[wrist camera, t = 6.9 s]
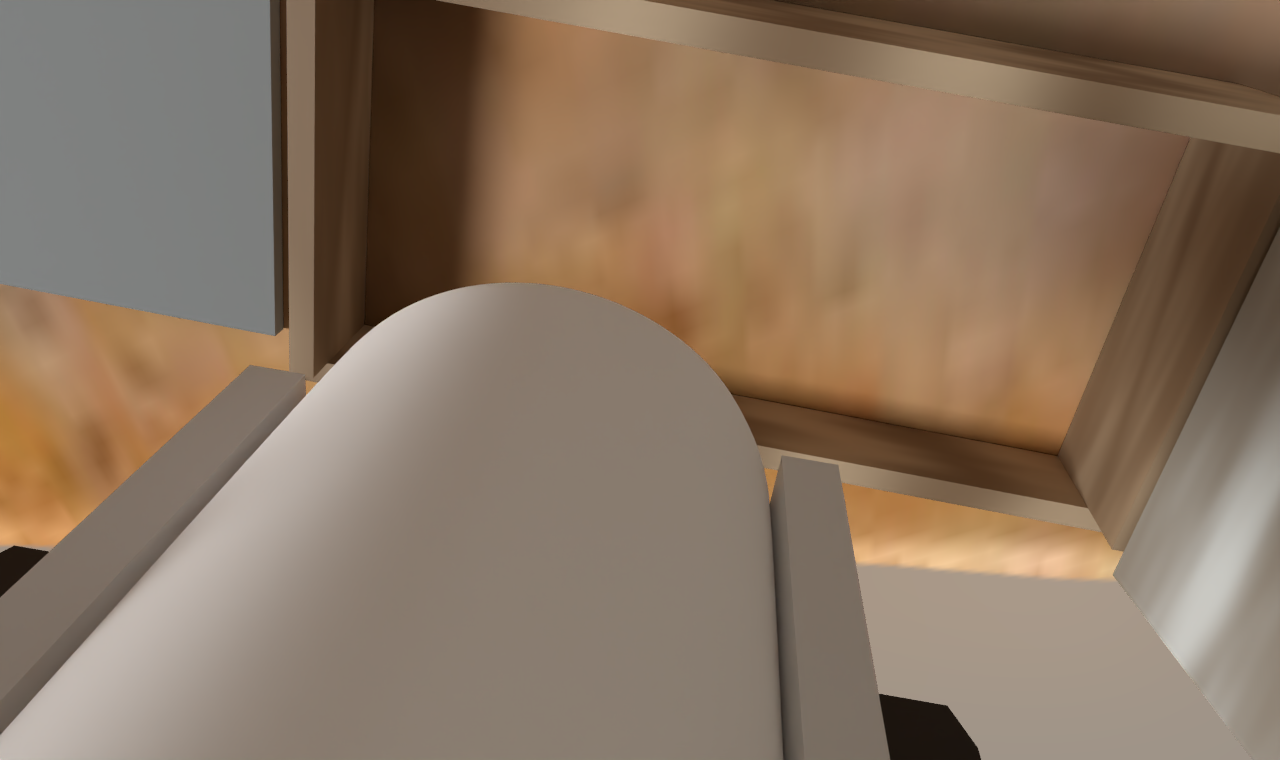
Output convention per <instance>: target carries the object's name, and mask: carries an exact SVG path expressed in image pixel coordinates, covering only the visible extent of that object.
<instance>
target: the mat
mask: <svg viewBox="0 0 1280 760" xmlns="http://www.w3.org/2000/svg"><path fill="white" fill-rule="evenodd" d="M0 284H4V285H10V286H15V287H20V288H25V289H31V290H36V291H41V292H46V293H52V294H57V295H62V296H67V297H73V298H78V299H83V300H89V301H94V302H99V303H104V304H110V305H115V306H120V307H125V308H131V309H136V310H141V311H146V312H152V313H157V314H162V315H167V316H173V317H178V318H183V319H188V320H194V321H199V322H204V323H209V324H215V325H220V326H225V327H230V328H236V329H241V330H246V331H251V332H257V333H262V334H267V335H273V336H276V335H277V334H278V333H279V332H280V331H281V330H283V257H282V170H281V83H280V0H0Z"/></svg>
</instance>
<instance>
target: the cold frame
mask: <svg viewBox="0 0 1280 760" xmlns="http://www.w3.org/2000/svg"><path fill="white" fill-rule="evenodd" d="M438 1H443V2H449V3H454V4H460V5H465V6H471V7H476V8H482V9H487V10H493V11H498V12H504V13H509V14H515V15H520V16H526V17H531V18H537V19H542V20H548V21H553V22H559V23H564V24H570V25H575V26H581V27H586V28H592V29H597V30H603V31H609V32H614V33H620V34H625V35H631V36H636V37H642V38H647V39H653V40H658V41H664V42H669V43H675V44H680V45H686V46H691V47H697V48H702V49H708V50H713V51H719V52H724V53H730V54H735V55H741V56H746V57H752V58H757V59H763V60H768V61H774V62H779V63H785V64H790V65H796V66H801V67H807V68H812V69H818V70H823V71H829V72H834V73H840V74H845V75H851V76H856V77H862V78H867V79H873V80H878V81H884V82H889V83H895V84H900V85H906V86H912V87H917V88H923V89H928V90H934V91H939V92H945V93H950V94H956V95H961V96H967V97H972V98H978V99H983V100H989V101H994V102H1000V103H1005V104H1011V105H1016V106H1022V107H1027V108H1033V109H1038V110H1044V111H1049V112H1055V113H1060V114H1066V115H1071V116H1077V117H1082V118H1088V119H1093V120H1099V121H1104V122H1110V123H1115V124H1121V125H1126V126H1132V127H1137V128H1143V129H1148V130H1154V131H1159V132H1165V133H1170V134H1176V135H1181V136H1187V137H1191V138H1190V140H1189V143H1188V145H1187V147H1186V150H1185V152H1184V154H1183V157H1182V159H1181V162H1180V164H1179V166H1178V169H1177V171H1176V174H1175V176H1174V178H1173V181H1172V183H1171V186H1170V188H1169V190H1168V193H1167V195H1166V198H1165V200H1164V202H1163V205H1162V207H1161V210H1160V212H1159V214H1158V217H1157V219H1156V221H1155V224H1154V226H1153V229H1152V231H1151V233H1150V236H1149V238H1148V241H1147V243H1146V245H1145V248H1144V250H1143V253H1142V255H1141V257H1140V260H1139V262H1138V265H1137V267H1136V269H1135V272H1134V274H1133V277H1132V279H1131V281H1130V284H1129V286H1128V288H1127V291H1126V293H1125V296H1124V298H1123V300H1122V303H1121V305H1120V308H1119V310H1118V312H1117V315H1116V317H1115V320H1114V322H1113V324H1112V327H1111V329H1110V332H1109V334H1108V336H1107V339H1106V341H1105V344H1104V346H1103V348H1102V351H1101V353H1100V355H1099V358H1098V360H1097V363H1096V365H1095V367H1094V370H1093V372H1092V375H1091V377H1090V379H1089V382H1088V384H1087V387H1086V389H1085V391H1084V394H1083V396H1082V399H1081V401H1080V403H1079V406H1078V408H1077V410H1076V413H1075V415H1074V418H1073V420H1072V422H1071V425H1070V427H1069V430H1068V432H1067V434H1066V437H1065V439H1064V442H1063V444H1062V446H1061V449H1060V451H1059V454H1058V456H1055V455H1049V454H1044V453H1039V452H1034V451H1028V450H1023V449H1018V448H1012V447H1007V446H1002V445H997V444H991V443H986V442H981V441H976V440H970V439H965V438H960V437H954V436H949V435H944V434H939V433H933V432H928V431H923V430H917V429H912V428H907V427H902V426H896V425H891V424H886V423H881V422H875V421H870V420H865V419H859V418H854V417H849V416H844V415H838V414H833V413H828V412H823V411H817V410H812V409H807V408H801V407H796V406H791V405H786V404H780V403H775V402H770V401H764V400H759V399H754V398H749V397H743V396H738V395H733V394H731V395H732V396H733V398H734V400H735V401H736V403H737V405H738V406H739V408H740V410H741V412H742V414H743V416H744V418H745V420H746V422H747V424H748V426H749V428H750V430H751V432H752V435H753V437H754V439H755V442H756V444H757V447H758V450H759V453H760V456H761V459H762V463H763V467H764V468H768V469H774V470H778V469H779V464H780V460H781V456H782V455H783V456H789V457H795V458H801V459H807V460H813V461H818V462H824V463H830V464H836V465H838V466H839V472H840V477H841V482H842V483H847V484H852V485H857V486H862V487H868V488H873V489H878V490H883V491H889V492H894V493H899V494H904V495H910V496H915V497H920V498H925V499H930V500H936V501H941V502H946V503H951V504H957V505H962V506H967V507H972V508H978V509H983V510H988V511H993V512H999V513H1004V514H1009V515H1014V516H1019V517H1025V518H1030V519H1035V520H1040V521H1046V522H1051V523H1056V524H1061V525H1067V526H1072V527H1077V528H1082V529H1087V530H1093V531H1098V532H1102V533H1103V535H1104V537H1105V538H1106V540H1107V542H1108V543H1109V545H1110V547H1111V549H1113V550H1119V551H1124V552H1123V554H1122V556H1121V559H1120V561H1119V563H1118V565H1117V567H1116V569H1115V571H1114V573H1113V576H1114V577H1115V579H1116V580H1117V581H1118V583H1119V584H1120V585H1121V587H1122V588H1123V589H1124V591H1125V592H1126V593H1127V595H1128V596H1129V597H1130V599H1131V600H1132V601H1133V603H1134V604H1135V605H1136V607H1137V608H1138V609H1139V610H1140V612H1141V613H1142V614H1143V616H1144V617H1145V618H1146V620H1147V621H1148V622H1149V624H1150V625H1151V626H1152V628H1153V629H1154V630H1155V632H1156V633H1157V634H1158V636H1159V637H1160V638H1161V640H1162V641H1163V642H1164V644H1165V645H1166V646H1167V648H1168V649H1169V650H1170V652H1171V653H1172V654H1173V655H1174V657H1175V658H1176V659H1177V661H1178V662H1179V663H1180V665H1181V666H1182V667H1183V669H1184V670H1185V671H1186V673H1187V674H1188V675H1189V677H1190V678H1191V679H1192V681H1193V682H1194V683H1195V685H1196V686H1197V687H1198V689H1199V690H1200V691H1201V693H1202V694H1203V695H1204V697H1205V698H1206V699H1207V700H1208V702H1209V703H1210V704H1211V706H1212V707H1213V708H1214V710H1215V711H1216V712H1217V714H1218V715H1219V716H1220V717H1221V719H1222V720H1223V722H1224V723H1225V724H1226V726H1227V727H1228V728H1229V730H1230V731H1231V732H1232V733H1233V735H1234V736H1235V737H1236V739H1237V740H1238V741H1239V743H1240V744H1241V746H1242V747H1243V748H1244V750H1245V751H1246V752H1247V753H1248V755H1249V756H1250V757H1251V759H1252V760H1280V97H1278V96H1275V95H1272V94H1269V93H1266V92H1263V91H1260V90H1257V89H1254V88H1251V87H1248V86H1244V85H1241V84H1236V83H1230V82H1225V81H1219V80H1214V79H1208V78H1203V77H1197V76H1191V75H1186V74H1180V73H1175V72H1169V71H1164V70H1158V69H1153V68H1147V67H1141V66H1136V65H1130V64H1125V63H1119V62H1114V61H1108V60H1103V59H1097V58H1091V57H1086V56H1080V55H1075V54H1069V53H1064V52H1058V51H1053V50H1047V49H1041V48H1036V47H1030V46H1025V45H1019V44H1014V43H1008V42H1003V41H997V40H991V39H986V38H980V37H975V36H969V35H964V34H958V33H953V32H947V31H941V30H936V29H930V28H925V27H919V26H914V25H908V24H903V23H897V22H892V21H886V20H880V19H875V18H869V17H864V16H858V15H853V14H847V13H842V12H836V11H830V10H825V9H819V8H814V7H808V6H803V5H797V4H792V3H786V2H780V1H775V0H438ZM286 13H287V132H288V250H289V369H290V372H294V373H300V374H305V380H308V381H313V382H319V381H320V380H321V379H322V378H323V377H324V376H325V374H326V373H327V372H328V371H329V370H330V369H331V368H332V367H333V366H334V365H335V364H336V363H337V362H338V361H339V360H340V359H341V358H342V357H343V356H344V355H345V354H346V353H347V352H348V351H349V350H350V348H351V347H352V346H353V345H354V344H355V343H357V342H358V341H359V340H360V339H361V338H362V337H363V336H364V335H366V334H367V333H368V332H369V331H371V330H372V329H373V328H374V326H369V325H364V321H365V289H366V256H367V223H368V190H369V158H370V125H371V92H372V59H373V27H374V0H286Z"/></svg>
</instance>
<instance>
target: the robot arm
mask: <svg viewBox="0 0 1280 760" xmlns="http://www.w3.org/2000/svg"><path fill="white" fill-rule="evenodd" d="M305 396H306V386H305V374H300V373H294V372H288V371H282V370H276V369H270V368H264V367H258V366H253V365H250V366H248V367H247V368H246V369H245V370H244V371H243V372H242V373H241V374H240V375H239V376H238V377H237V378H236V379H235V380H233V381H232V382H231V383H230V384H229V385H228V386H227V387H226V388H225V389H224V390H223V391H222V392H221V393H219V394H218V395H217V396H216V397H215V398H214V399H213V400H212V401H211V402H210V403H209V404H208V405H207V406H206V407H204V408H203V409H202V410H201V411H200V412H199V413H198V414H197V415H196V416H195V417H194V418H193V419H192V420H190V421H189V422H188V423H187V424H186V425H185V426H184V427H183V428H182V429H181V430H180V431H179V432H178V433H176V434H175V435H174V436H173V437H172V438H171V439H170V440H169V441H168V442H167V443H166V444H165V445H164V446H163V447H161V448H160V449H159V450H158V451H157V452H156V453H155V454H154V455H153V456H152V457H151V458H150V459H149V460H147V461H146V462H145V463H144V464H143V465H142V466H141V467H140V468H139V469H138V470H137V471H136V472H135V473H134V474H132V475H131V476H130V477H129V478H128V479H127V480H126V481H125V482H124V483H123V484H122V485H121V486H120V487H118V488H117V489H116V490H115V491H114V492H113V493H112V494H111V495H110V496H109V497H108V498H107V499H106V500H104V501H103V502H102V503H101V504H100V505H99V506H98V507H97V508H96V509H95V510H94V511H93V512H92V513H91V514H89V515H88V516H87V517H86V518H85V519H84V520H83V521H82V522H81V523H80V524H79V525H78V526H77V527H75V528H74V529H73V530H72V531H71V532H70V533H69V534H68V535H67V536H66V537H65V538H64V539H63V540H62V541H60V542H59V543H58V544H57V545H56V546H55V547H54V548H53V549H52V550H51V551H50V552H48V551H42V550H36V549H31V548H25V547H19V546H13V547H11V548H9V549H7V550H5V551H3V552H1V553H0V735H1V734H2V732H3V731H4V730H5V729H6V728H7V727H8V726H9V725H10V723H11V722H12V721H13V720H14V719H15V718H16V717H17V716H18V715H19V713H20V712H21V711H22V710H23V709H24V708H25V707H26V706H27V705H28V703H29V702H30V701H31V700H32V699H33V698H34V697H35V696H36V694H37V693H38V692H39V691H40V690H41V689H42V688H43V687H44V686H45V684H46V683H47V682H48V681H49V680H50V679H51V678H52V677H53V676H54V674H55V673H56V672H57V671H58V670H59V669H60V668H61V667H62V666H63V664H64V663H65V662H66V661H67V660H68V659H69V658H70V657H71V655H72V654H73V653H74V652H75V651H76V650H77V649H78V648H79V647H80V645H81V644H82V643H83V642H84V641H85V640H86V639H87V638H88V637H89V635H90V634H91V633H92V632H93V631H94V630H95V629H96V628H97V626H98V625H99V624H100V623H101V622H102V621H103V620H104V619H105V618H106V616H107V615H108V614H109V613H110V612H111V611H112V610H113V609H114V608H115V606H116V605H117V604H118V603H119V602H120V601H121V600H122V599H123V598H124V596H125V595H126V594H127V593H128V592H129V591H130V590H131V589H132V587H133V586H134V585H135V584H136V583H137V582H138V581H139V580H140V579H141V577H142V576H143V575H144V574H145V573H146V572H147V571H148V570H149V569H150V567H151V566H152V565H153V564H154V563H155V562H156V561H157V560H158V559H159V557H160V556H161V555H162V554H163V553H164V552H165V551H166V550H167V549H168V548H169V546H170V545H171V544H172V543H173V542H174V541H175V540H176V539H177V538H178V536H179V535H180V534H181V533H182V532H183V531H184V530H185V529H186V528H187V526H188V525H189V524H190V523H191V522H192V521H193V520H194V519H195V518H196V516H197V515H198V514H199V513H200V512H201V511H202V510H203V509H204V508H205V506H206V505H207V504H208V503H209V502H210V501H211V500H212V499H213V498H214V496H215V495H216V494H217V493H218V492H219V491H220V490H221V489H222V488H223V486H224V485H225V484H226V483H227V482H228V481H229V480H230V479H231V478H232V476H233V475H234V474H235V473H236V472H237V471H238V470H239V469H240V468H241V467H242V465H243V464H244V463H245V462H246V461H247V460H248V459H249V458H250V457H251V455H252V454H253V453H254V452H255V451H256V450H257V449H258V448H259V447H260V446H261V444H262V443H263V442H264V441H265V440H266V439H267V438H268V437H269V436H270V435H271V433H272V432H273V431H274V430H275V429H276V428H277V427H278V426H279V425H280V424H281V422H282V421H283V420H284V419H285V418H286V417H287V416H288V415H289V414H290V413H291V411H292V410H293V409H294V408H295V407H296V406H297V405H298V404H299V403H300V402H301V400H302V399H303V398H304V397H305ZM770 515H771V528H772V544H773V560H774V578H775V597H776V617H777V636H778V656H779V677H780V697H781V718H782V739H783V760H981V758H980V754H979V751H978V748H977V746H976V745H975V744H974V742H973V741H972V739H971V738H970V737H969V736H968V734H967V732H966V731H965V730H964V728H963V727H962V725H961V724H960V723H959V722H958V720H957V719H956V717H955V716H954V715H953V713H952V712H951V710H950V709H949V708H948V706H946V705H940V704H934V703H929V702H923V701H917V700H911V699H906V698H900V697H894V696H889V695H883V694H879V693H878V688H877V682H876V676H875V670H874V665H873V659H872V653H871V648H870V642H869V636H868V631H867V625H866V619H865V614H864V608H863V602H862V597H861V591H860V585H859V579H858V574H857V568H856V562H855V557H854V551H853V545H852V540H851V534H850V528H849V523H848V517H847V511H846V506H845V500H844V494H843V489H842V483H841V477H840V472H839V466H838V465H836V464H830V463H824V462H818V461H813V460H807V459H801V458H795V457H789V456H783V455H782V456H781V460H780V464H779V469H778V473H777V477H776V481H775V485H774V489H773V493H772V497H771V501H770Z"/></svg>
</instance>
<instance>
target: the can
mask: <svg viewBox="0 0 1280 760" xmlns="http://www.w3.org/2000/svg"><path fill="white" fill-rule="evenodd" d="M0 760H783V739H782V718H781V697H780V677H779V656H778V636H777V617H776V597H775V578H774V560H773V544H772V528H771V515H770V504H769V493H768V487H767V481H766V476H765V471H764V467H763V463H762V459H761V456H760V453H759V450H758V447H757V444H756V442H755V439H754V437H753V435H752V432H751V430H750V428H749V426H748V424H747V422H746V420H745V418H744V416H743V414H742V412H741V410H740V408H739V406H738V405H737V403H736V401H735V400H734V398H733V396H732V395H731V393H730V392H729V390H728V389H727V387H726V386H725V384H724V383H723V382H722V380H721V379H720V378H719V377H718V375H717V374H716V373H715V372H714V371H713V369H712V368H711V367H710V366H709V365H708V364H707V363H706V362H705V361H704V360H703V359H702V358H701V357H700V356H699V355H698V354H697V353H696V352H695V351H694V350H693V349H691V348H690V347H689V346H688V345H687V344H685V343H684V342H683V341H682V340H680V339H679V338H678V337H676V336H675V335H674V334H672V333H671V332H669V331H668V330H666V329H665V328H663V327H662V326H660V325H659V324H657V323H655V322H654V321H652V320H650V319H649V318H647V317H645V316H643V315H641V314H639V313H637V312H635V311H633V310H631V309H629V308H627V307H625V306H622V305H620V304H618V303H615V302H613V301H610V300H607V299H605V298H602V297H599V296H596V295H593V294H589V293H585V292H582V291H578V290H573V289H569V288H564V287H558V286H552V285H545V284H535V283H491V284H481V285H475V286H468V287H463V288H458V289H454V290H450V291H446V292H443V293H440V294H437V295H434V296H431V297H428V298H425V299H423V300H421V301H418V302H416V303H414V304H412V305H409V306H407V307H405V308H403V309H402V310H400V311H398V312H396V313H395V314H393V315H391V316H390V317H388V318H387V319H385V320H384V321H382V322H381V323H380V324H378V325H377V326H375V327H374V328H373V329H372V330H371V331H369V332H368V333H367V334H366V335H364V336H363V337H362V338H361V339H360V340H359V341H358V342H357V343H355V344H354V345H353V346H352V347H351V348H350V350H349V351H348V352H347V353H346V354H345V355H344V356H343V357H342V358H341V359H340V360H339V361H338V362H337V363H336V364H335V365H334V366H333V367H332V368H331V369H330V370H329V371H328V372H327V373H326V374H325V376H324V377H323V378H322V379H321V380H320V381H319V382H318V383H317V384H316V385H315V386H314V387H313V389H312V390H311V391H310V392H309V393H308V394H307V395H306V396H305V397H304V398H303V399H302V400H301V402H300V403H299V404H298V405H297V406H296V407H295V408H294V409H293V410H292V411H291V413H290V414H289V415H288V416H287V417H286V418H285V419H284V420H283V421H282V422H281V424H280V425H279V426H278V427H277V428H276V429H275V430H274V431H273V432H272V433H271V435H270V436H269V437H268V438H267V439H266V440H265V441H264V442H263V443H262V444H261V446H260V447H259V448H258V449H257V450H256V451H255V452H254V453H253V454H252V455H251V457H250V458H249V459H248V460H247V461H246V462H245V463H244V464H243V465H242V467H241V468H240V469H239V470H238V471H237V472H236V473H235V474H234V475H233V476H232V478H231V479H230V480H229V481H228V482H227V483H226V484H225V485H224V486H223V488H222V489H221V490H220V491H219V492H218V493H217V494H216V495H215V496H214V498H213V499H212V500H211V501H210V502H209V503H208V504H207V505H206V506H205V508H204V509H203V510H202V511H201V512H200V513H199V514H198V515H197V516H196V518H195V519H194V520H193V521H192V522H191V523H190V524H189V525H188V526H187V528H186V529H185V530H184V531H183V532H182V533H181V534H180V535H179V536H178V538H177V539H176V540H175V541H174V542H173V543H172V544H171V545H170V546H169V548H168V549H167V550H166V551H165V552H164V553H163V554H162V555H161V556H160V557H159V559H158V560H157V561H156V562H155V563H154V564H153V565H152V566H151V567H150V569H149V570H148V571H147V572H146V573H145V574H144V575H143V576H142V577H141V579H140V580H139V581H138V582H137V583H136V584H135V585H134V586H133V587H132V589H131V590H130V591H129V592H128V593H127V594H126V595H125V596H124V598H123V599H122V600H121V601H120V602H119V603H118V604H117V605H116V606H115V608H114V609H113V610H112V611H111V612H110V613H109V614H108V615H107V616H106V618H105V619H104V620H103V621H102V622H101V623H100V624H99V625H98V626H97V628H96V629H95V630H94V631H93V632H92V633H91V634H90V635H89V637H88V638H87V639H86V640H85V641H84V642H83V643H82V644H81V645H80V647H79V648H78V649H77V650H76V651H75V652H74V653H73V654H72V655H71V657H70V658H69V659H68V660H67V661H66V662H65V663H64V664H63V666H62V667H61V668H60V669H59V670H58V671H57V672H56V673H55V674H54V676H53V677H52V678H51V679H50V680H49V681H48V682H47V683H46V684H45V686H44V687H43V688H42V689H41V690H40V691H39V692H38V693H37V694H36V696H35V697H34V698H33V699H32V700H31V701H30V702H29V703H28V705H27V706H26V707H25V708H24V709H23V710H22V711H21V712H20V713H19V715H18V716H17V717H16V718H15V719H14V720H13V721H12V722H11V723H10V725H9V726H8V727H7V728H6V729H5V730H4V731H3V732H2V734H1V735H0Z"/></svg>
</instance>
